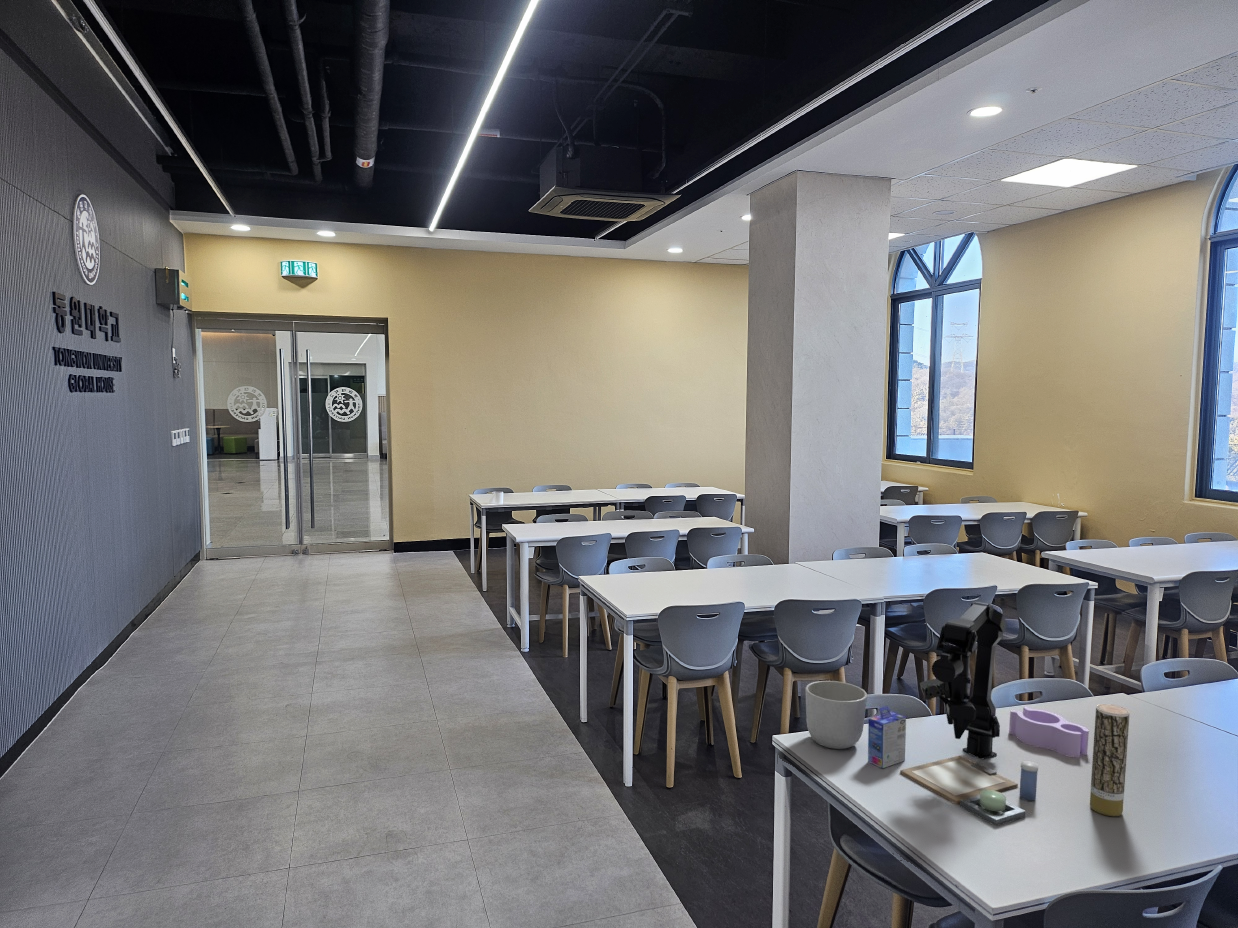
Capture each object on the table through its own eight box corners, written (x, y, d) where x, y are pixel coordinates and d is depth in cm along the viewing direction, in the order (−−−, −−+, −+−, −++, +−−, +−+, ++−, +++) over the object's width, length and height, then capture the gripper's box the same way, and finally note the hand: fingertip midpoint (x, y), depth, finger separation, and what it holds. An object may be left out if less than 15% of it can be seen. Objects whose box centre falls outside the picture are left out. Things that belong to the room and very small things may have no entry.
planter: (813, 726, 238) (815, 676, 237) (871, 739, 230) (873, 687, 229) (795, 746, 224) (797, 693, 223) (856, 760, 215) (858, 706, 214)
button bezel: (988, 797, 196) (988, 791, 196) (1025, 816, 187) (1025, 810, 187) (960, 806, 192) (960, 800, 191) (996, 825, 183) (996, 819, 182)
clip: (1095, 751, 225) (1097, 728, 224) (1070, 761, 218) (1072, 736, 218) (1028, 726, 242) (1029, 704, 241) (1003, 734, 236) (1004, 711, 235)
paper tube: (1122, 820, 186) (1129, 716, 185) (1089, 812, 190) (1095, 710, 188) (1122, 808, 192) (1129, 707, 190) (1089, 800, 196) (1096, 701, 194)
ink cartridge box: (889, 753, 221) (891, 702, 220) (906, 760, 216) (908, 708, 215) (865, 761, 215) (868, 709, 214) (882, 769, 211) (885, 716, 210)
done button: (990, 797, 193) (991, 787, 193) (1010, 808, 188) (1011, 798, 188) (974, 802, 190) (974, 792, 190) (994, 813, 185) (995, 802, 185)
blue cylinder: (1025, 793, 199) (1027, 759, 198) (1039, 799, 196) (1041, 765, 195) (1015, 796, 197) (1017, 762, 197) (1029, 802, 194) (1031, 768, 193)
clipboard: (959, 758, 218) (959, 753, 218) (1017, 786, 202) (1017, 781, 202) (900, 772, 209) (900, 767, 208) (956, 804, 192) (956, 798, 192)
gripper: (917, 657, 213) (915, 714, 214) (929, 681, 195) (926, 743, 196) (961, 661, 211) (959, 718, 212) (978, 685, 192) (974, 747, 194)
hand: (953, 731), depth 203 cm, fingers open, 9 cm apart
